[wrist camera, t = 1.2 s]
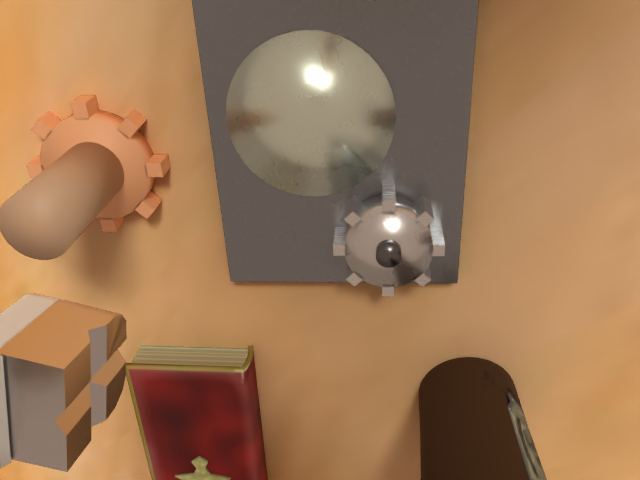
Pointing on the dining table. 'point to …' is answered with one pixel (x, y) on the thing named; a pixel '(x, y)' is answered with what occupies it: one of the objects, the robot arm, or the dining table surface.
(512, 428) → the olive oil
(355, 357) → the dining table surface
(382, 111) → the carrier plate
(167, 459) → the hardcover book
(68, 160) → the gear
